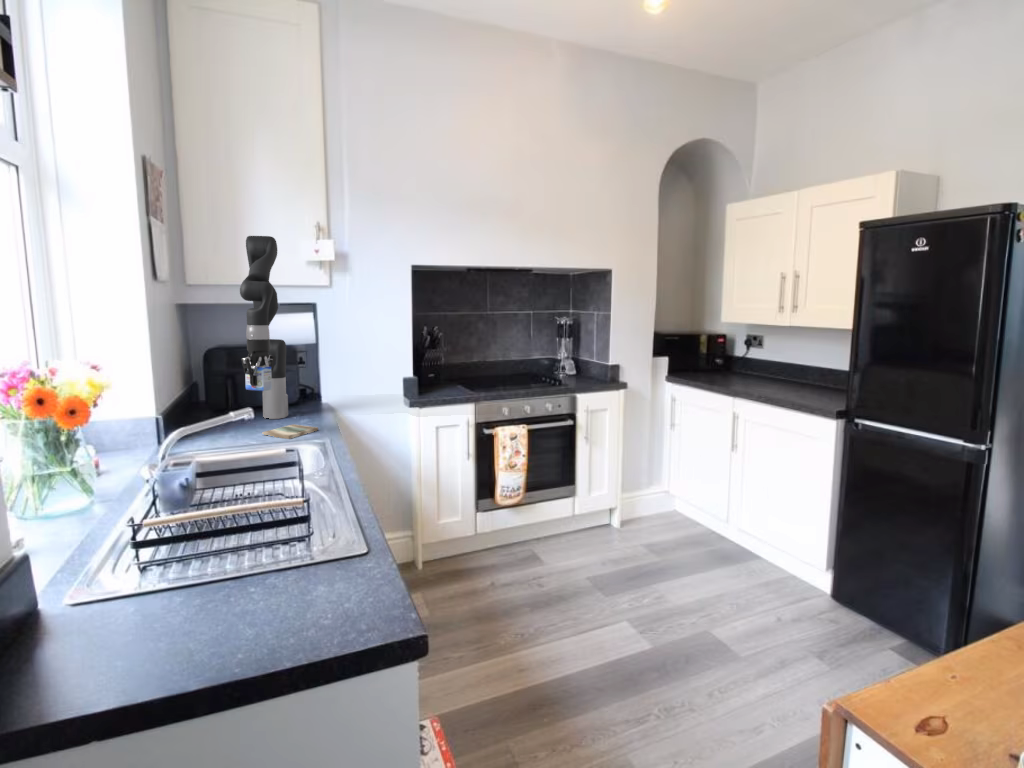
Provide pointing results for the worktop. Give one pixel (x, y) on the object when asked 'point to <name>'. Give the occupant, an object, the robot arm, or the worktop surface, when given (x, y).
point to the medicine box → (260, 379)
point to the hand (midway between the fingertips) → (259, 384)
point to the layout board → (290, 431)
